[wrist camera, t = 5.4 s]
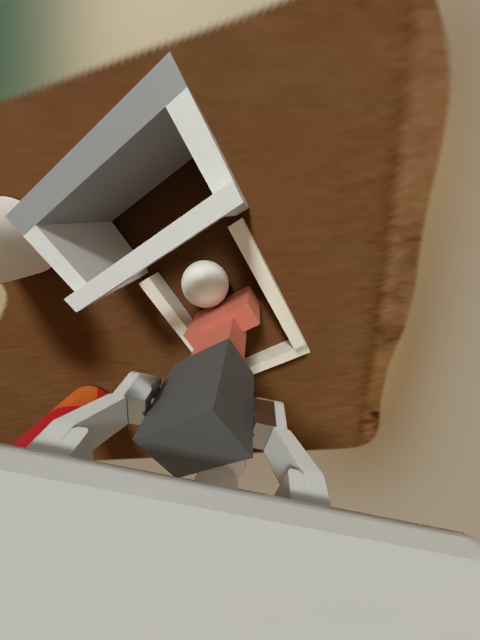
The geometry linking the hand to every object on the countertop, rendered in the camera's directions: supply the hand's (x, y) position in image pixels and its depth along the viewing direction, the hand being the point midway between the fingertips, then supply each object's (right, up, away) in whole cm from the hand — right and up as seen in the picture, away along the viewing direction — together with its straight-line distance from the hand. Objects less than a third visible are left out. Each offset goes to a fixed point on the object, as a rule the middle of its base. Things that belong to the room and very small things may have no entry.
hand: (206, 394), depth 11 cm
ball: (-1, +7, +7) cm, 10 cm away
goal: (-4, +12, +6) cm, 15 cm away
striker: (+1, +5, +10) cm, 11 cm away
